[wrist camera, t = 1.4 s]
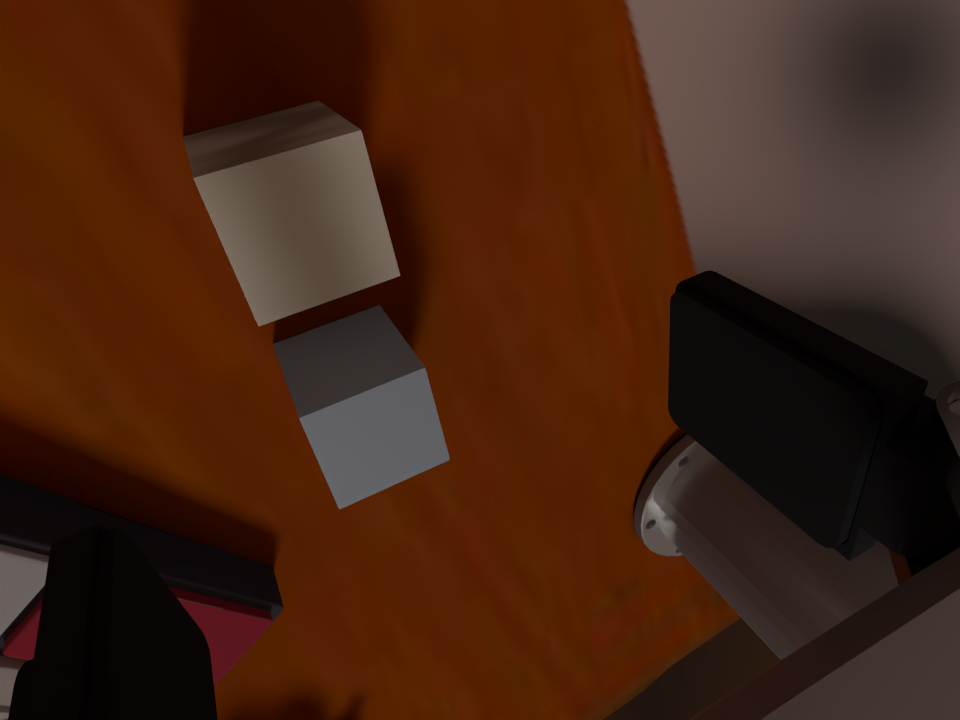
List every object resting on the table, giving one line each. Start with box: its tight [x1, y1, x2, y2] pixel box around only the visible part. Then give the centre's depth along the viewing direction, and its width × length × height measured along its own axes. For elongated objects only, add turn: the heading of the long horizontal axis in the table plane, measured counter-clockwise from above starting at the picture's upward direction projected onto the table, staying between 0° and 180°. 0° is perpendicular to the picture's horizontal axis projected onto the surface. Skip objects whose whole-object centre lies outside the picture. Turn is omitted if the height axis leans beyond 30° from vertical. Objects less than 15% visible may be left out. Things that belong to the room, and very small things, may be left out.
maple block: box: [183, 100, 400, 326], centre depth 22 cm, size 5×5×6 cm
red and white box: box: [0, 474, 283, 720], centre depth 28 cm, size 11×4×15 cm
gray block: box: [273, 305, 450, 509], centre depth 27 cm, size 5×5×6 cm
